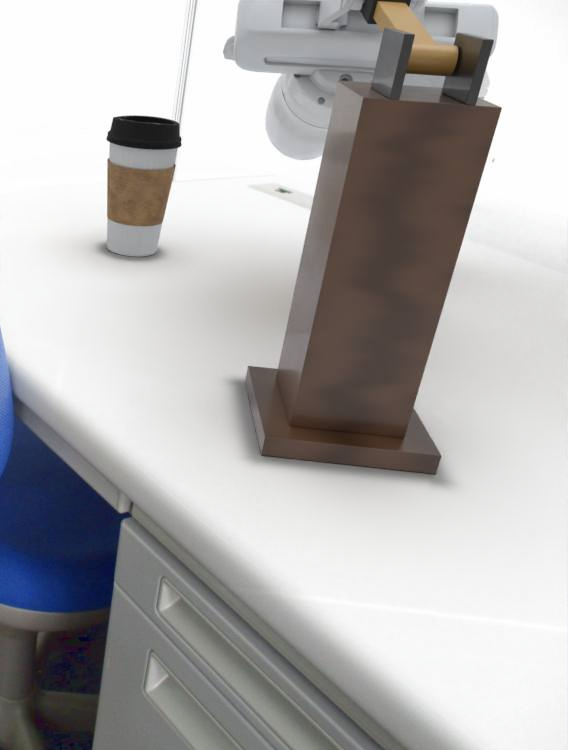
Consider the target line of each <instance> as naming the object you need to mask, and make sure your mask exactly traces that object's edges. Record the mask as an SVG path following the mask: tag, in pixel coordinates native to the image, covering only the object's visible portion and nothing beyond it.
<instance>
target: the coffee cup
mask: <svg viewBox="0 0 568 750" xmlns="http://www.w3.org/2000/svg"><path fill="white" fill-rule="evenodd" d="M180 129H181V128H180V123H179V122H178V121H176V120H173V119H169V118H165V117H158V116H150V115H132V114H131V115H118V116H114V117H112V121H111V125H110V130H108V131H107V135H106V141H107V142H109V153H108V154H109V155H108V158H107V164H106V165H107V170H106V171H107V172H106V173H107V177H106V179H107V180H106V181H107V182H106V183H107V184H106V187H107V188H106V191H107V192H106V202H107V203H106V218H107V219H106V220H107V222H106V248H107V250H108V251H110V252H112V253H115V254H116V255H121V256H125V257H137V258H138V257H149V256H153V255H154V254H156V253H157V251H158V247H159V241H160V237H161V232H162V226H163V222H164V219H165V215H166V210H167V206H168V201H169V197H170V193H171V189H172V183H173V179H174V176H175V172H176V166H177V165H176V163H175V162H176V158H177V153H178V149H179V148H181V147H182V139H183V138H182V136H181V133H180V132H181V131H180Z"/></svg>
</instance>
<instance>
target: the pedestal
mask: <svg viewBox="0 0 568 750" xmlns="http://www.w3.org/2000/svg"><path fill="white" fill-rule="evenodd" d="M414 37H415V34H412V33H409V32H405V31H402V30H399V29H395V28H387V27H385V28H384V31H383V36H382V40H381V45H380V49H379V53H378V58H377V62H376V67H375V71H374V76H373V80H372V83H368V82H354V81H340V80H339V81H338V83H337V88H336V93H335V98H334V102H333V107H332V112H331V117H330V121H329V126H328V131H327V136H326V141H325V145H324V150H323V155H322V156H321V161H320V165H319V170H318V173H317V174H318V175H317V180H316V184H315V189H314V194H313V199H312V203H311V208H310V213H309V218H308V223H307V227H306V232H305V236H304V237H305V238H304V241H303V247H302V251H301V255H300V260H299V265H298V266H299V267H298V270H297V275H296V280H295V285H294V290H293V294H292V299H291V303H290V304H291V305H290V308H289V314H288V318H287V322H286V328H285V333H284V337H283V343H282V347H281V348H282V349H281V352H280V357H279V360H278V361H279V362H278V366H277V368H275V367H274V368H273V367H264V366H254V365H247V367H246V373H245V379H244V384H245V389H246V392H247V397H248V402H249V406H250V410H251V414H252V421H253V424H254V428H255V434H256V437H257V442H258V446H259V447H258V448H259V450H260V455H261V456H266V457H267V456H268V457H274V458H275V457H277V458H285V459H294V460H303V461H313V462H322V463H333V464H341V465H347V466H348V465H351V466H359V467H366V468H367V467H368V468H375V469H377V468H378V469H387V470H395V471H405V472H412V473H424V474H431V475H437V472H438V469H439V466H440V462H441V461H442V456H443V455H442V454H441V452H440V450H439V449H438V447H437V445H436V444H435V442H434V440H433V439H432V437H431V435H430V433H429V431H428V430H427V428H426V426H425V425H424V423H423V421H422V420H421V418H420V416H419V415H418V412H417V411H416V409H415V404H416V400H417V397H418V394H419V390H420V386H421V384H422V380H423V377H424V374H425V370H426V366H427V363H428V360H429V356H430V354H431V350H432V346H433V343H434V339H435V336H436V333H437V329H438V326H439V322H440V320H441V316H442V312H443V309H444V306H445V303H446V299H447V296H448V292H449V289H450V285H451V282H452V279H453V275H454V272H455V268H456V265H457V261H458V258H459V255H460V252H461V248H462V245H463V243H464V238H465V234H466V231H467V228H468V226H469V225H468V224H469V221H470V217H471V215H472V211H473V207H474V204H475V201H476V198H477V194H478V191H479V188H480V184H481V181H482V177H483V173H484V170H485V167H486V164H487V161H488V156H489V153H490V150H491V147H492V143H493V140H494V137H495V133H496V129H497V128H498V127H497V126H498V123H499V120H500V116H501V112H502V109H503V107H501V106H499V105H497V104H495V103H492V102H491V101H488V100H485V99H484V100H483V99H481V98H479V97H478V96H479V92H480V89H481V85H482V82H483V78H484V74H485V71H487V68H488V63H489V61H490V58H489V57H491V56H490V53H491V50H492V46H493V43H494V40H493V39H489V38H485V37H481V36H477V35H473V34H469V33H461V32H458V33H457V34H456V38H455V42H454V45H456V46H457V47H458V60H457V64H456V67H455V70H454V72H453V73H452V75H451V76H449V77H447V76H445V80H444V84H443V88H437V87H423V86H409V85H403V83H404V79H405V75H406V70H407V66H408V62H409V58H410V54H411V50H412V46H413V42H414Z"/></svg>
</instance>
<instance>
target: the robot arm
mask: <svg viewBox="0 0 568 750" xmlns="http://www.w3.org/2000/svg"><path fill="white" fill-rule="evenodd" d="M366 2H367V0H239V1H238V4H237V8H236V9H237V12H236V19H235V27H234V35H232V36H230V37H229V38H228V39H226V41H225V43H224V46H223V49H222V54H223V57H224V59H225V60H231V61H233V62H235V64H236V65H237V67H238V68H239V69H242V70H243V71H249V72H254V73H271V74H280V76H279V77H278V79H277V80H276V82H275V85H274V86H273V89H272V92H271V94H270V97H269V100H268V104H267V107H266V112H265V118H264V120H265V122H264V123H265V124H264V125H265V126H264V127H265V131H266V135H267V137H268V139H269V141H270V143H271V145H272V146H273V147H274V148H275V149H276V150H277V151H278V152H279V153H280V154H282V155H284V156H285V157H287V158H289V159H292V160H296V161H311V160H315V159H318V158H321V157H322V155H323V150H324V145H325V141H326V136H327V131H328V126H329V121H330V117H331V112H332V107H333V102H334V98H335V93H336V88H337V83H338V81H339V80H340V81H354V82H368V83H372V80H373V76H374V71H375V67H376V62H377V58H378V53H379V49H380V45H381V40H382V36H383V33H382V31H381V30H380V28H379V26H378V25H377V24H367V22H366V20H365V19H364V17H363V15H362V13H361V12H360V10H362V8H363V7H364V4H365V3H366ZM409 8H410V9H411V11H412V12H413V13H414V15H415V16H416V17H417V19H418V20H419V21H420V23H421V24H422V25H423V26H424V28H425V29H426V30H427V32H428V33H429V34H430V36H431V37H432V38H433V40H434V41H435V42H436V44H441V45H454V42H455V38H456V34H457V33H458V32H461V33H469V34H473V35H477V36H481V37H485V38H489V39H493V40H494V43H493V46H492V50H491V53H490V57H492V56H493V54H494V52H495V50H496V45H497V41H498V34H499V12H498V10H497V9H496V8H495V7H494V6H493V4H489V3H470V2H469V3H467V2H447V1H428V0H411V2H410V6H409ZM490 57H489V59H490ZM444 80H445V76H433V75H419V74H406V75H405V79H404V83H403V85H409V86H423V87H437V88H443V84H444Z"/></svg>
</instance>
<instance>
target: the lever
mask: <svg viewBox="0 0 568 750" xmlns="http://www.w3.org/2000/svg"><path fill="white" fill-rule="evenodd" d="M410 2H411V0H367V2H366V3H365V4H364V7H363V8H362V10H360V12H361V13H362V15H363V17H364V19H365V20H366V22H367V24H377V25H378V26H379V28H380V30H381V31H382V33H383V31H384V28H385V27H387V28H395V29H399V30H402V31H405V32H409V33H412V34H415V37H414V42H413V46H412V50H411V54H410V58H409V62H408V66H407V70H406V74H419V75H433V76H447V77H449V76H451V75H452V73H453V72H454V70H455V67H456V64H457V60H458V47H457V46H456V45H441V44H436V42H435V41H434V40H433V38H432V37H431V36H430V34H429V33H428V32H427V30H426V29H425V28H424V26H423V25H422V24H421V23H420V21H419V20H418V19H417V17H416V16H415V15H414V13H413V12H412V11H411V9H410V8H409V6H410Z"/></svg>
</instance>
